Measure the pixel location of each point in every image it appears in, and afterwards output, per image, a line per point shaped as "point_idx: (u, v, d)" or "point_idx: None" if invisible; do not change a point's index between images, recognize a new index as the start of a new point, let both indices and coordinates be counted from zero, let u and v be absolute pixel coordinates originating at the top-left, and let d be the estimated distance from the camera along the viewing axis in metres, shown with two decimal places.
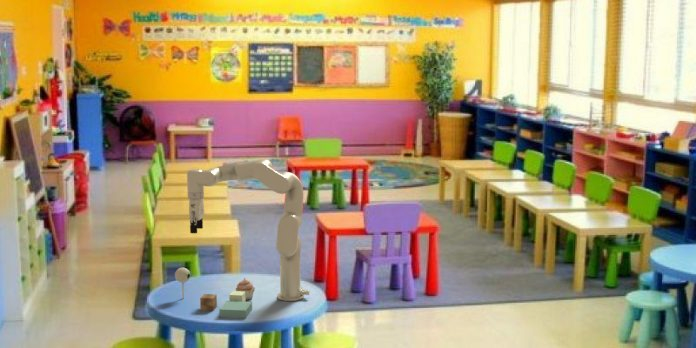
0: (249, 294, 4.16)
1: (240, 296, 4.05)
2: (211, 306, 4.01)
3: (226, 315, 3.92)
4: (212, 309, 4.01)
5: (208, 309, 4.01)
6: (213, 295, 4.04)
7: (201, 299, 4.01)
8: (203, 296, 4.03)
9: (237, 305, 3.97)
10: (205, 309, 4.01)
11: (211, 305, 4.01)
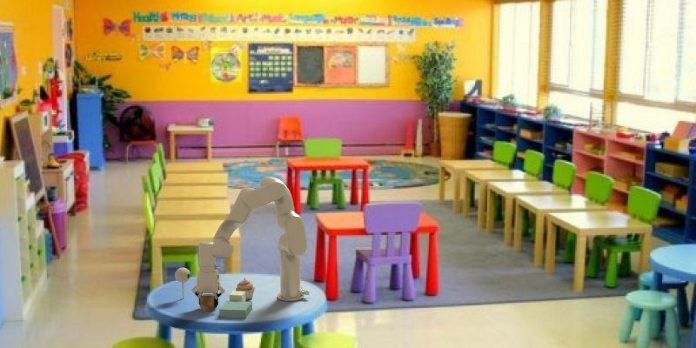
0: (249, 294, 4.16)
1: (240, 296, 4.05)
2: (211, 306, 4.01)
3: (226, 315, 3.92)
4: (212, 309, 4.01)
5: (208, 309, 4.01)
6: (213, 295, 4.04)
7: (201, 299, 4.01)
8: (203, 296, 4.03)
9: (237, 305, 3.97)
10: (205, 309, 4.01)
11: (211, 305, 4.01)
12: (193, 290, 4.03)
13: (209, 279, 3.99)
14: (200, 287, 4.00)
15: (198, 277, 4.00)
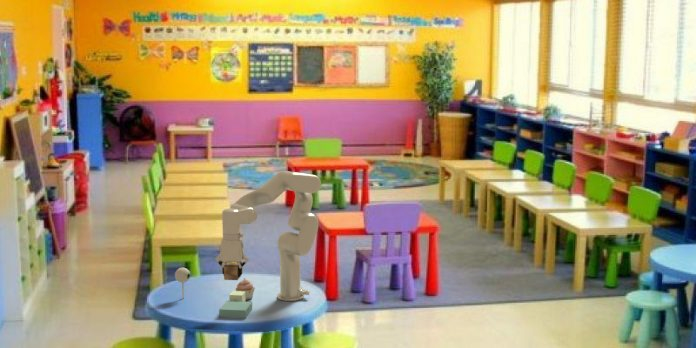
0: (249, 294, 4.16)
1: (240, 296, 4.05)
2: (235, 275, 3.92)
3: (226, 315, 3.92)
4: (236, 278, 3.92)
5: (232, 278, 3.93)
6: (237, 264, 3.96)
7: (225, 268, 3.92)
8: (227, 265, 3.94)
9: (237, 305, 3.97)
10: (229, 278, 3.93)
11: (235, 274, 3.92)
12: (216, 259, 3.95)
13: (233, 247, 3.91)
14: (224, 256, 3.92)
15: (222, 246, 3.92)
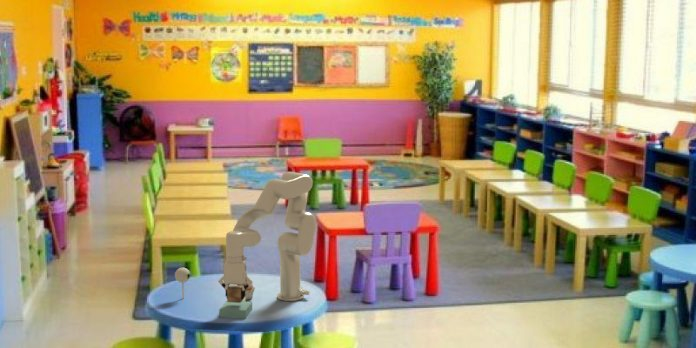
0: (249, 294, 4.16)
1: None
2: (238, 298, 3.93)
3: (226, 315, 3.92)
4: (239, 301, 3.93)
5: (235, 301, 3.93)
6: (240, 286, 3.96)
7: (228, 290, 3.93)
8: (230, 287, 3.95)
9: (237, 305, 3.97)
10: (232, 301, 3.93)
11: (238, 297, 3.93)
12: (220, 281, 3.95)
13: (236, 270, 3.92)
14: (227, 278, 3.93)
15: (225, 268, 3.92)
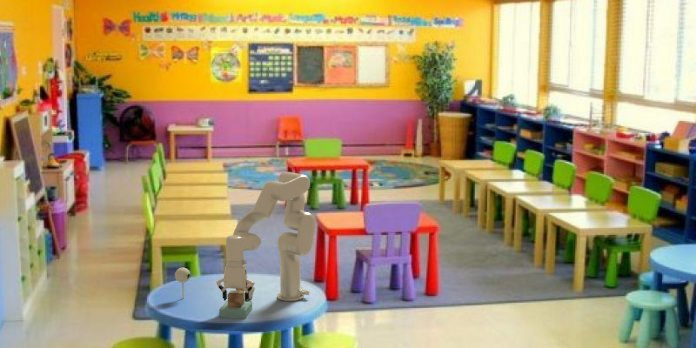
0: (249, 294, 4.16)
1: None
2: (239, 303, 3.94)
3: (226, 315, 3.92)
4: (240, 306, 3.94)
5: (236, 306, 3.94)
6: (240, 292, 3.97)
7: (228, 296, 3.94)
8: (230, 293, 3.96)
9: None
10: (233, 306, 3.94)
11: (239, 302, 3.94)
12: (218, 283, 3.96)
13: (237, 274, 3.92)
14: (227, 282, 3.93)
15: (225, 272, 3.93)
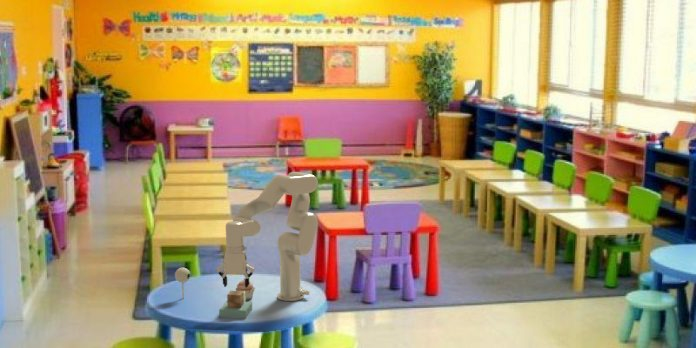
0: (249, 294, 4.16)
1: None
2: (238, 303, 3.93)
3: (226, 315, 3.92)
4: (239, 306, 3.94)
5: (235, 306, 3.94)
6: (240, 292, 3.97)
7: (228, 296, 3.93)
8: (230, 293, 3.95)
9: None
10: (232, 306, 3.94)
11: (238, 302, 3.93)
12: (218, 269, 3.95)
13: (237, 260, 3.91)
14: (227, 268, 3.92)
15: (225, 258, 3.92)
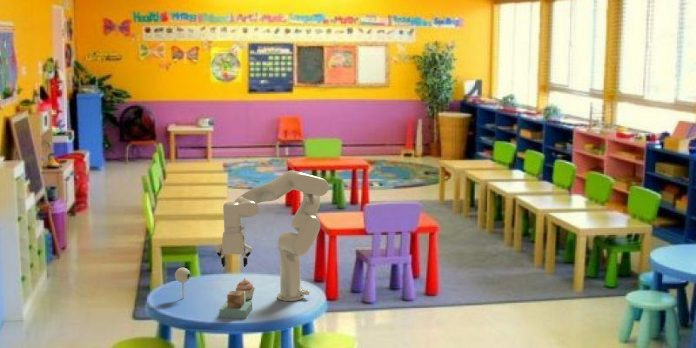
0: (249, 294, 4.16)
1: None
2: (238, 303, 3.93)
3: (226, 315, 3.92)
4: (239, 306, 3.93)
5: (235, 306, 3.94)
6: (240, 292, 3.97)
7: (228, 296, 3.93)
8: (230, 293, 3.95)
9: None
10: (232, 306, 3.94)
11: (238, 302, 3.93)
12: (216, 249, 4.00)
13: (235, 240, 3.96)
14: (226, 249, 3.98)
15: (223, 239, 3.97)
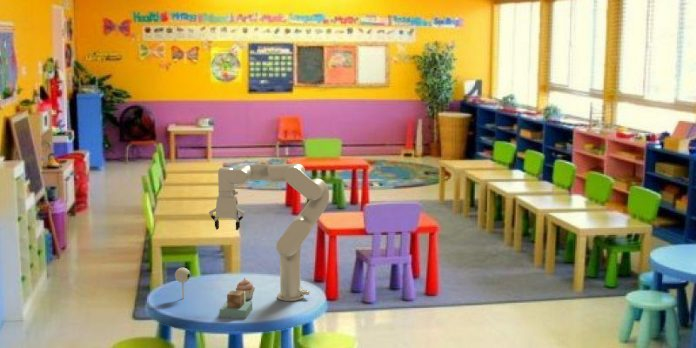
0: (249, 294, 4.16)
1: None
2: (238, 303, 3.93)
3: (226, 315, 3.92)
4: (239, 306, 3.94)
5: (235, 306, 3.94)
6: (240, 292, 3.97)
7: (228, 296, 3.94)
8: (230, 293, 3.96)
9: None
10: (232, 306, 3.94)
11: (238, 302, 3.93)
12: (210, 213, 4.18)
13: (228, 204, 4.14)
14: (219, 212, 4.15)
15: (217, 202, 4.15)
